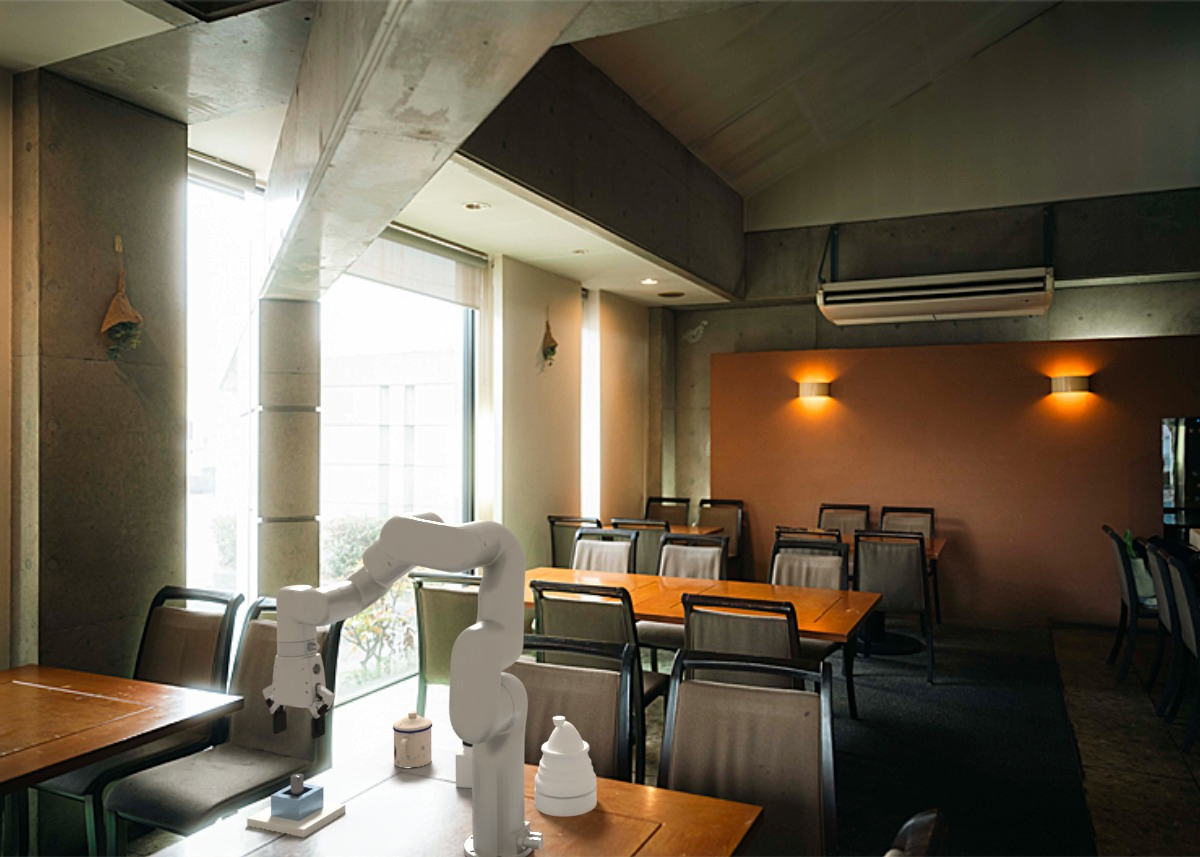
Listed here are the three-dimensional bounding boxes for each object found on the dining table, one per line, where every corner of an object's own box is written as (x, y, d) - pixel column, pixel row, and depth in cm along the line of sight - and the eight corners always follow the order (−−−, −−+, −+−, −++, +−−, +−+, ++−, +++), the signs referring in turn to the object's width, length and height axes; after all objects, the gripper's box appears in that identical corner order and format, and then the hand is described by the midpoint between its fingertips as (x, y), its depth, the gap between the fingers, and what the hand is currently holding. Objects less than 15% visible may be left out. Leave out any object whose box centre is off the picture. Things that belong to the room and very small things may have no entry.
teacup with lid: (400, 754, 204) (400, 706, 205) (437, 755, 203) (437, 706, 204) (382, 773, 193) (382, 721, 193) (421, 774, 192) (421, 722, 192)
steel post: (307, 809, 170) (307, 774, 170) (297, 815, 167) (297, 779, 167) (296, 807, 171) (296, 772, 171) (286, 813, 168) (286, 777, 168)
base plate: (345, 812, 172) (345, 804, 172) (303, 837, 161) (303, 829, 161) (291, 802, 177) (291, 794, 177) (247, 825, 166) (247, 818, 166)
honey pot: (570, 822, 166) (569, 729, 167) (521, 806, 174) (520, 717, 175) (609, 800, 177) (608, 713, 177) (561, 786, 184) (561, 702, 185)
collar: (323, 807, 171) (323, 787, 171) (298, 821, 164) (298, 800, 165) (296, 802, 174) (296, 782, 174) (270, 815, 167) (270, 795, 167)
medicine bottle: (486, 789, 183) (486, 733, 183) (455, 787, 184) (454, 731, 184) (497, 777, 190) (496, 723, 190) (466, 775, 191) (466, 721, 191)
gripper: (344, 646, 170) (346, 732, 169) (277, 641, 177) (278, 724, 176) (318, 654, 163) (320, 744, 163) (249, 649, 170) (251, 736, 169)
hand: (298, 734), depth 169 cm, fingers open, 9 cm apart
